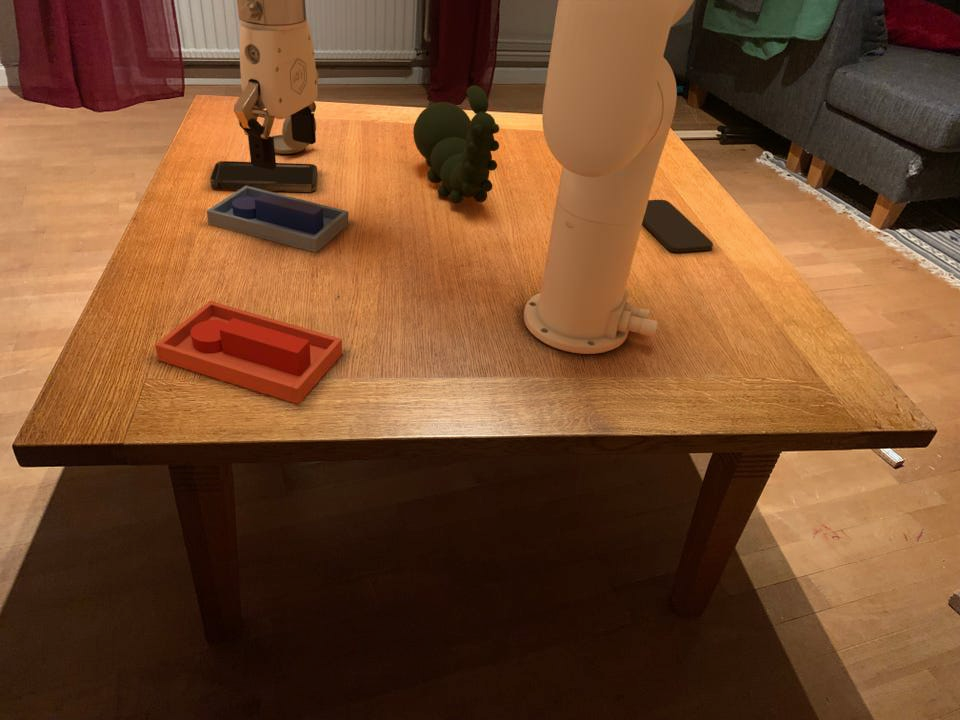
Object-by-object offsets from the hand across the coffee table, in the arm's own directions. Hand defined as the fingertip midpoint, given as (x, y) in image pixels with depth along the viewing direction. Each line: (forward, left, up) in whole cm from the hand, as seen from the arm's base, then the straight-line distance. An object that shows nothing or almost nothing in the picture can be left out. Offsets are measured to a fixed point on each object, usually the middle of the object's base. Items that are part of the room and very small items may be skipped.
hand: (284, 153), depth 94 cm
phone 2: (-48, -27, -10) cm, 56 cm away
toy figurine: (-14, -24, -11) cm, 30 cm away
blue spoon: (+2, 0, -10) cm, 10 cm away
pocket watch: (+14, -23, -11) cm, 29 cm away
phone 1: (+11, -11, -10) cm, 18 cm away
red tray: (-11, +27, -10) cm, 31 cm away
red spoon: (-11, +27, -10) cm, 31 cm away
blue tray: (+2, 0, -10) cm, 10 cm away
